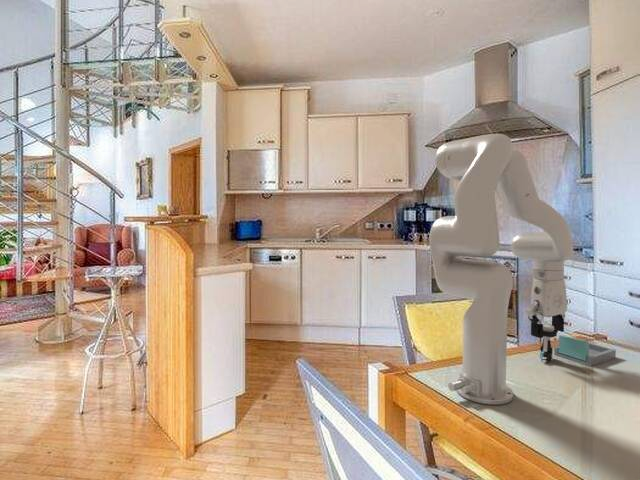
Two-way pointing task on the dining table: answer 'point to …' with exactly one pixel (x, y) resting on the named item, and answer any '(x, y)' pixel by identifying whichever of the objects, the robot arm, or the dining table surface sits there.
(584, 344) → the clamp jaw
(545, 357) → the push button
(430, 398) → the dining table surface
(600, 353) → the tray
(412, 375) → the dining table surface
